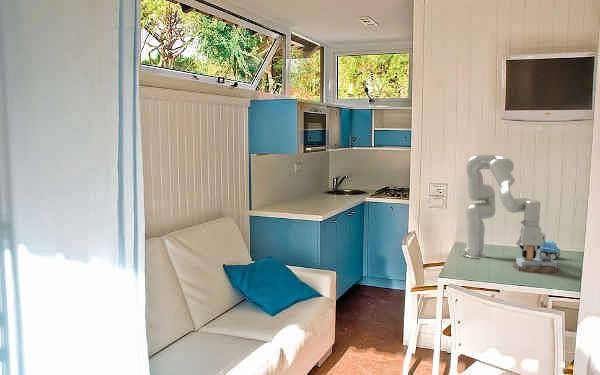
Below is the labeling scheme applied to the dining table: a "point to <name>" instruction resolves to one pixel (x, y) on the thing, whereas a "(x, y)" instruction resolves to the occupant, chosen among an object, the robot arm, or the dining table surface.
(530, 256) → the tail peg
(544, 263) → the pale blue peg socket
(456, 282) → the dining table surface
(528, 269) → the cradle
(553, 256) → the toy excavator
